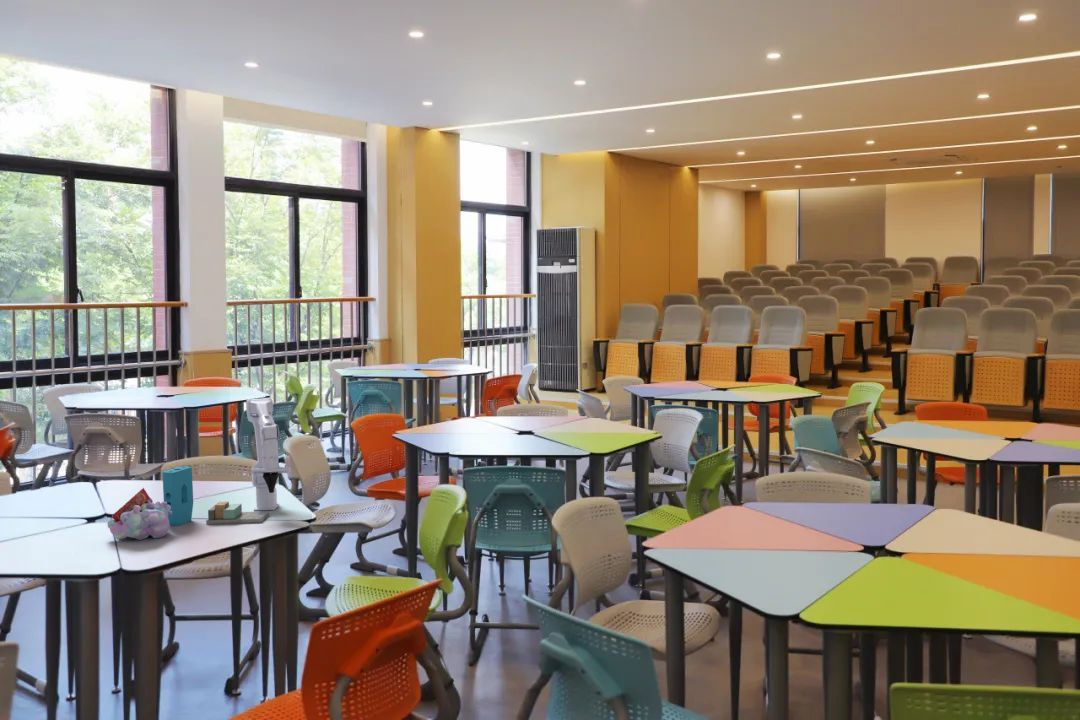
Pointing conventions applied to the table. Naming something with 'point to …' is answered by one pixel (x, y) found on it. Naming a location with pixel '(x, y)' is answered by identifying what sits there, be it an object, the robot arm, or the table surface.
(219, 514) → the walnut block
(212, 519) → the vise
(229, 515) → the block
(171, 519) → the block
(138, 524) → the lumpy lavender blob
